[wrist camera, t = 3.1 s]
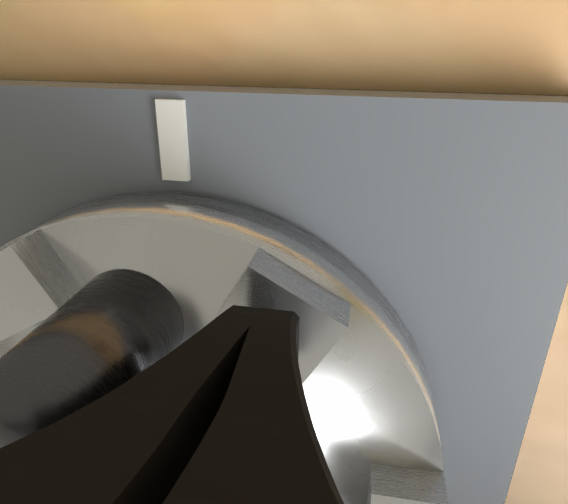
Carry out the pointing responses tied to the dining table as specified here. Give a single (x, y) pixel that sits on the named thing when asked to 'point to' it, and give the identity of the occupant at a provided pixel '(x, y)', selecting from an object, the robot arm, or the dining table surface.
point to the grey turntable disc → (201, 311)
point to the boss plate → (348, 213)
